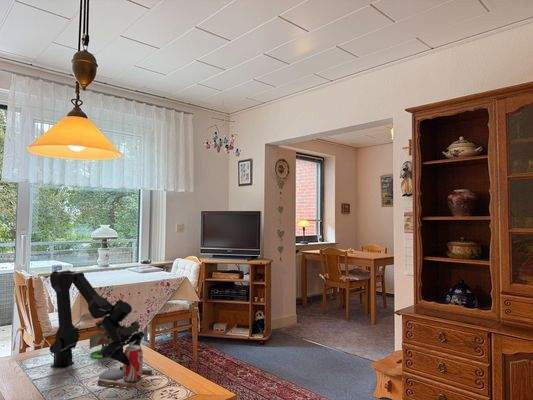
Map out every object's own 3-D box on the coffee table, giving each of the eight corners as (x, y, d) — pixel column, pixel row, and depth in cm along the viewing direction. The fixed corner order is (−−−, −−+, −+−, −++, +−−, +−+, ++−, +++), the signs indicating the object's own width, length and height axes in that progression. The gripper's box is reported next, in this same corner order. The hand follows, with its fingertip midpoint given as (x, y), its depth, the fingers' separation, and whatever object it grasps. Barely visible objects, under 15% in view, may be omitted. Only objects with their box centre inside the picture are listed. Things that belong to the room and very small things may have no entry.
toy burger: (123, 353, 173) (124, 320, 173) (96, 361, 163) (97, 326, 164) (111, 347, 180) (112, 315, 181) (84, 354, 171) (85, 320, 171)
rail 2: (119, 370, 154) (119, 366, 154) (121, 369, 155) (121, 365, 155) (150, 374, 150) (150, 370, 150) (152, 373, 151) (152, 369, 152)
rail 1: (97, 384, 141) (97, 380, 141) (99, 382, 142) (100, 378, 142) (130, 388, 138) (130, 384, 138) (132, 387, 139) (132, 383, 139)
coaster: (93, 379, 145) (93, 378, 145) (110, 369, 155) (110, 368, 155) (115, 382, 143) (116, 381, 143) (131, 372, 152) (131, 371, 152)
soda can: (135, 383, 141) (136, 351, 142) (118, 381, 143) (119, 349, 143) (145, 376, 148) (146, 345, 149) (129, 374, 150) (130, 343, 150)
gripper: (108, 322, 139) (132, 357, 135) (142, 310, 157) (163, 341, 152) (91, 341, 142) (113, 376, 137) (125, 327, 159) (146, 358, 155)
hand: (135, 361), depth 145 cm, fingers closed on soda can, 7 cm apart
